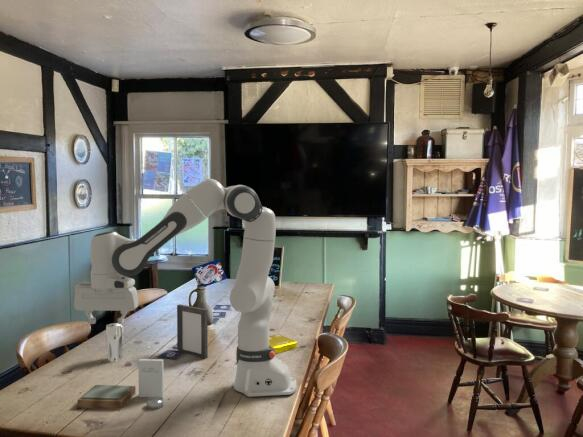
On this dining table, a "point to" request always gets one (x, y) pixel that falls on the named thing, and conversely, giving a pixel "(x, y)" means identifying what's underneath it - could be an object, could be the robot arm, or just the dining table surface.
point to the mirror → (106, 397)
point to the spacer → (155, 403)
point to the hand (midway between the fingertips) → (106, 323)
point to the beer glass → (115, 341)
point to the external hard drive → (151, 378)
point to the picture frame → (192, 331)
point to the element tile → (282, 343)
